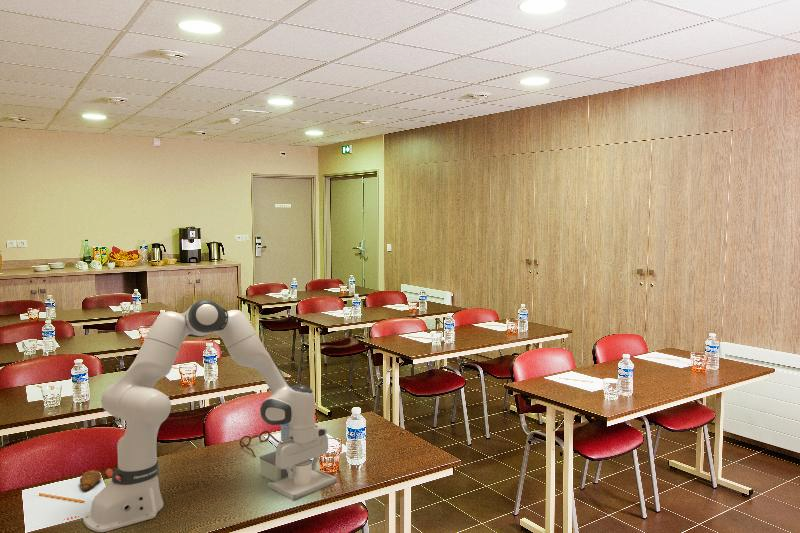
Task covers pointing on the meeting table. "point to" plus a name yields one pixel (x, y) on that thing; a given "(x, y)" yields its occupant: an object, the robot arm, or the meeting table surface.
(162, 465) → the meeting table surface
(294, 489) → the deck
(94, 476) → the croissant
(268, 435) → the glasses
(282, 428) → the beverage bottle
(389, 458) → the meeting table surface
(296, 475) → the white cup
